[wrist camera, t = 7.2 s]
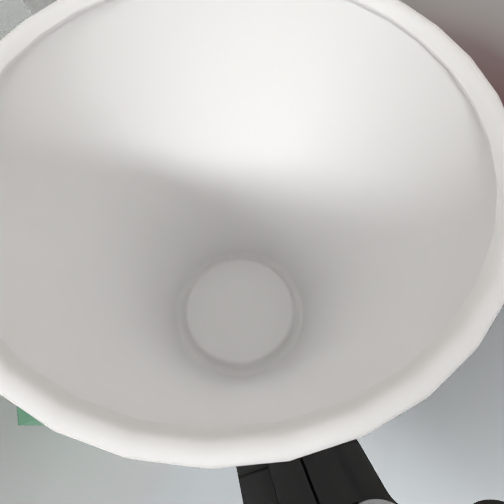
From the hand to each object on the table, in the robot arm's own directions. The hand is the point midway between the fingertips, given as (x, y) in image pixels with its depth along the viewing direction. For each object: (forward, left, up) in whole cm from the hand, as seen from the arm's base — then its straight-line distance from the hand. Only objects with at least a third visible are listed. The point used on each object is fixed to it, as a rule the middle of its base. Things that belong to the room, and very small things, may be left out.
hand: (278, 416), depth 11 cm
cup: (0, +4, -4) cm, 6 cm away
